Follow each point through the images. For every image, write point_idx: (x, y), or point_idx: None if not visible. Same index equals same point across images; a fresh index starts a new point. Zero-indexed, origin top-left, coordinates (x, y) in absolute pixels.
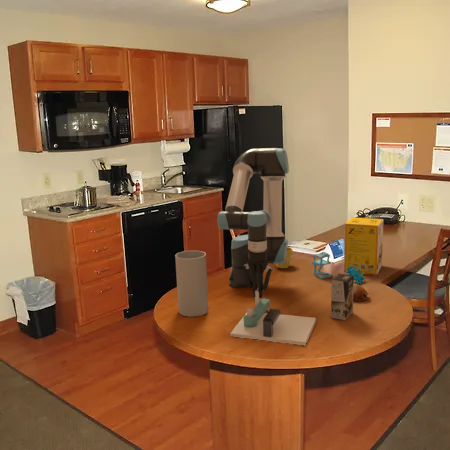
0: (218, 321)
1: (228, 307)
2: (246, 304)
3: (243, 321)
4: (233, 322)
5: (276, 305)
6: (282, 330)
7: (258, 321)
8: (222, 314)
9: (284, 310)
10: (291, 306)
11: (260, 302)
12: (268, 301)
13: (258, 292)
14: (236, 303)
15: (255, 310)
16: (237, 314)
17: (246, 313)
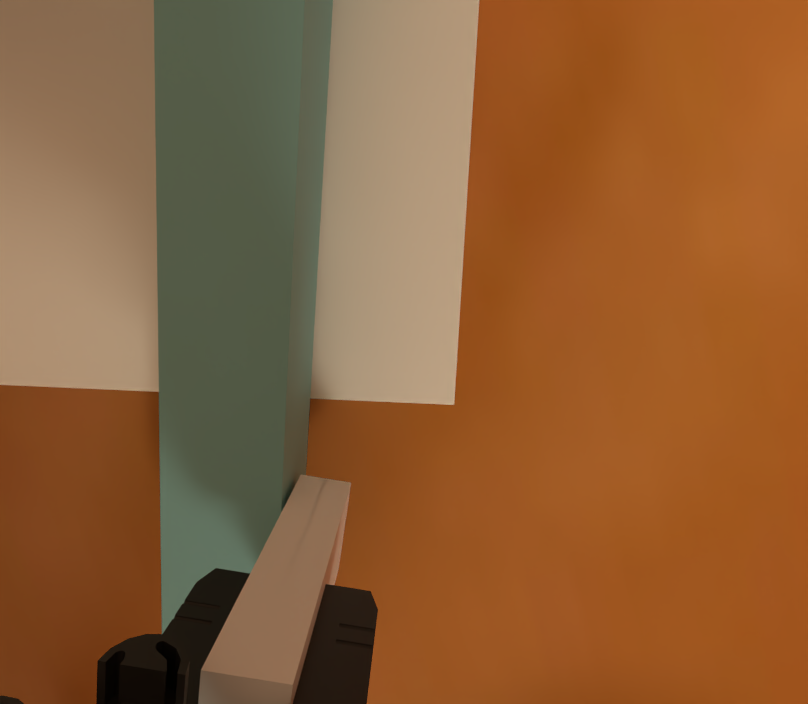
0: (801, 73)
1: (738, 546)
2: (537, 662)
3: (420, 4)
4: (580, 90)
5: None
6: None
7: None
8: (781, 324)
9: (70, 581)
10: (37, 692)
11: (263, 528)
12: (165, 602)
13: (212, 648)
14: (660, 669)
15: (234, 157)
16: (582, 364)
17: (450, 317)
